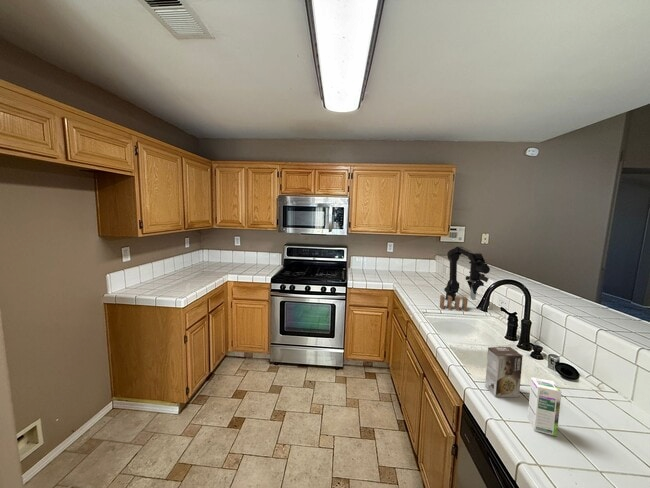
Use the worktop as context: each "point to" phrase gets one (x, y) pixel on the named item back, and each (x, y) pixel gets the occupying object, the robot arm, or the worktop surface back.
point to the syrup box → (544, 406)
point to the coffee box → (503, 371)
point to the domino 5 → (472, 295)
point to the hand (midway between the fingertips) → (473, 292)
